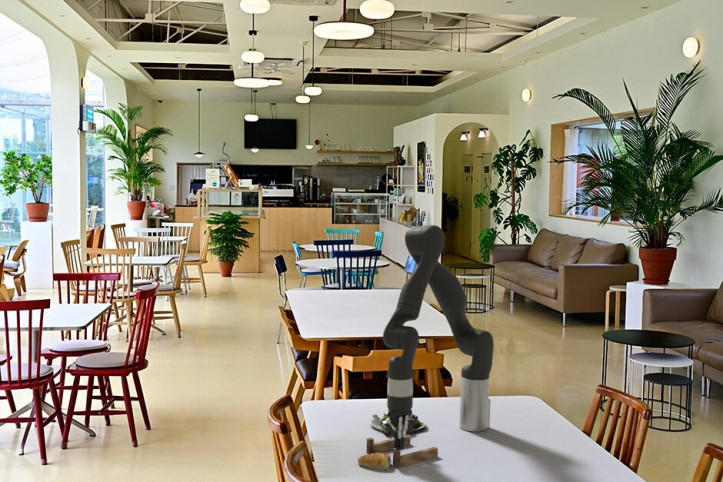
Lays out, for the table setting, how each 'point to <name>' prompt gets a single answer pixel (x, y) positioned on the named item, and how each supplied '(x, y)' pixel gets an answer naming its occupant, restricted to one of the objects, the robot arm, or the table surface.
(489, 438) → the table surface
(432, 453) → the pair of wooden bars
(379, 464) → the pastry
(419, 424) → the salad plate
